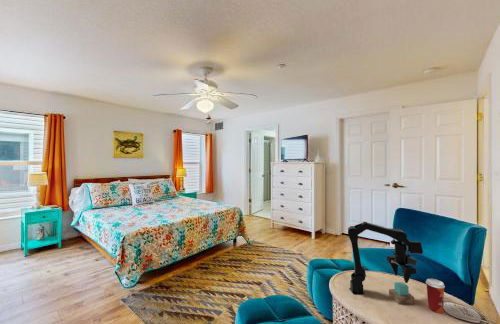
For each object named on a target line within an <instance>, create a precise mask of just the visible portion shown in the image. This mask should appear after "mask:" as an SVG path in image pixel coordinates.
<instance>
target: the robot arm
mask: <svg viewBox="0 0 500 324" xmlns="http://www.w3.org/2000/svg"><path fill="white" fill-rule="evenodd" d="M365 231H371V232H373V233H378V234H381V235H384V236H387V237H390V238H391V239H392V240H390V243H391V245H394V252H393V251H392V254H393V255H387V256H386V262H387V263H388V264H389V266H390V268H391V269H392V271H393V275H395V276H398V274H399V273H398V271H399V269H398V268H399V266H400V267H401V274H402V277H403V281H404V283H405V284H408V283H409V281H410V278H411V277H412V275H416V274H417V273H418V269H417V268H416V266H417V263H418V260H417V259H415V258H414V257H412V256H411V255H410V254H414V255H415V254H416V255H423V254H424V253H423V252H424V250H423V246H422V243H421V241H416V240H415V241H413V240H409V238H407V234H406V233H405V231H403V230H402V229H399V228H390V227H384V226H381V225H377V224H374V223H372V222H371V223H370V222H367V221H363V222H361V223H358V224H354V225H350V226H349V227H348V228H347V235H348V237H349V240H350V243H351V248H352V254H353V255H352V256H353V260H354V272H352V273H351V274H350V278H351V279H350V280H349V281H350V282H349V284H350V285H349V286H350V287H349V288H348V289H349V291H350V292H351V293H352V294H353V295H364V294H365V292H364V283H363V282H365V280H366V278H367V274H366V267H365V266H364V265H362V261H361V256H360V251H359V243H358V240H359V235H361V234H362V233H364V232H365ZM407 252H409V253H407ZM414 266H415V267H414Z"/></svg>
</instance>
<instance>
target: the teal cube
mask: <svg viewBox="0 0 500 324" xmlns="http://www.w3.org/2000/svg"><path fill="white" fill-rule="evenodd" d="M393 283H394V285H393V286H394V288H393V289H394V290H395V292H396V293H398V294H399V295H409V286H408V285H407V283H405V282H403V281H398V282H397V281H396V282H393Z"/></svg>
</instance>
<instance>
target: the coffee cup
mask: <svg viewBox="0 0 500 324" xmlns="http://www.w3.org/2000/svg"><path fill="white" fill-rule="evenodd" d="M425 284H426V292H427V293H426V294H427V302H428V304H427V305H428V309H429V311H431V312H434V313H436V314H443V312H444V302H445V301H444V297H445V296H444V295H445V288H446V286H445V284H444V282H443V281H441V280H438V279H435V278H427V279H426V280H425Z"/></svg>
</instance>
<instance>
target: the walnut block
mask: <svg viewBox="0 0 500 324" xmlns="http://www.w3.org/2000/svg"><path fill="white" fill-rule="evenodd" d="M388 296H389V297H390V298H391V299H392V300H394V301H395V303H396V304H397V305H411V304H412V305H415V296H414V295H412V294H411V293H409V295H399V294H398V293H396V292H395V290H394V288H390V289H388Z"/></svg>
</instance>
